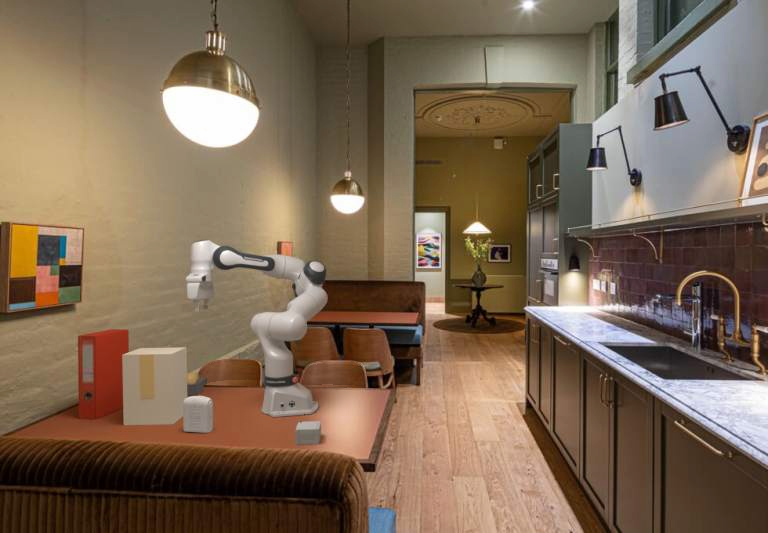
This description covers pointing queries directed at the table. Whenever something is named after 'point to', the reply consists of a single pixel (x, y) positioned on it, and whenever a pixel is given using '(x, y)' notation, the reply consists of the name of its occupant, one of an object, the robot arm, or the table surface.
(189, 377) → the gold knob on base
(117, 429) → the table surface
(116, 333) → the file binder
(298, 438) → the small box
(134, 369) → the carton
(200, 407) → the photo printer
